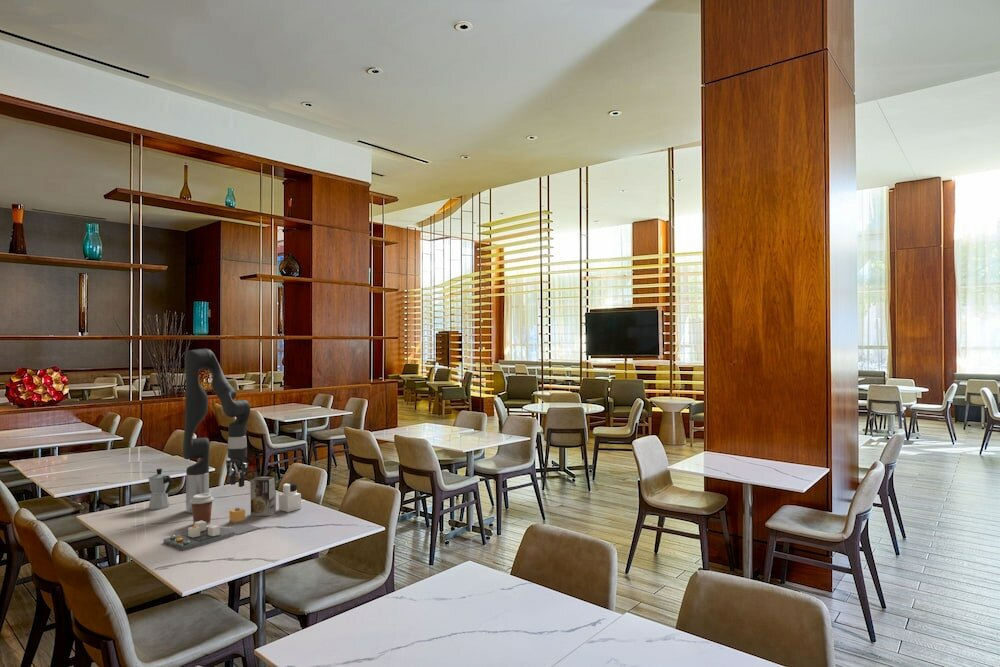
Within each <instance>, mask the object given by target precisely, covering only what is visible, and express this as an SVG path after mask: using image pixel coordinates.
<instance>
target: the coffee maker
mask: <svg viewBox="0 0 1000 667" xmlns="http://www.w3.org/2000/svg"><path fill="white" fill-rule="evenodd" d="M162 471H163V469H162V468H157V469H156V474H154V475H152V476H149V477H147V478H148V483H149V491H151V494H150V499H149V506H148V510H151V511H155V510H157V511H158V510H163V509H167V508H169V507H170V502H169V501H170V500H169V496H168V495H169V492H170V491H171V490H170V489H171V488H172V485H173V483H174V482H173V479H172V477H171V476H170V475H169V474H166V473H162Z"/></svg>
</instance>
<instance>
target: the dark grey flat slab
mask: <svg viewBox="0 0 1000 667" xmlns="http://www.w3.org/2000/svg"><path fill="white" fill-rule="evenodd" d="M227 529H228V528H224V527H220V535H216V536H210V535H208V526H206V530H204V531H200V536H197V537H194V538H192V537H190V536H188V531H187V532H183V533H181V534H172V535H170V536H169V537H166V538H163V540H162V541H163V544H165V545H168V546H171V547H173V548H175V549H178V550H180V551H187V550H191V549H194V548H196V547H200V546H204V545H208V544H210V543H213V542H217V541H220V540H223V539H224V540H225V539H228V538H232V537H234V536H235V534H234V532H233V531H230V530H227Z"/></svg>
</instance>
